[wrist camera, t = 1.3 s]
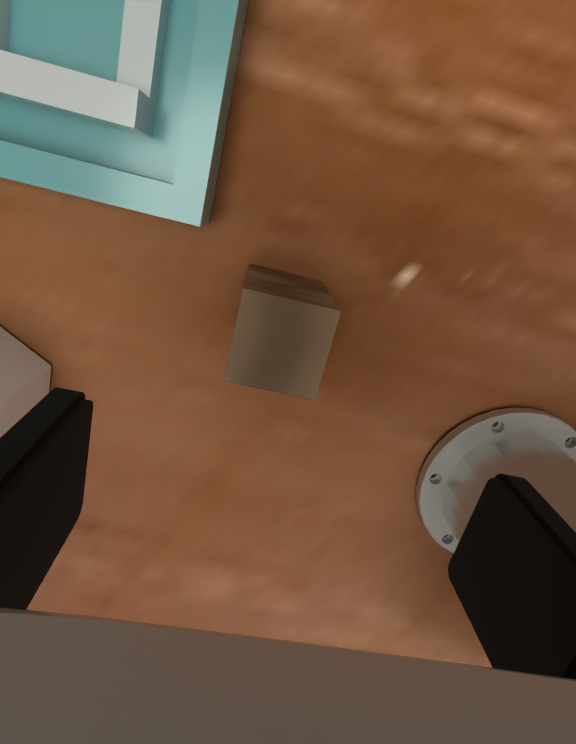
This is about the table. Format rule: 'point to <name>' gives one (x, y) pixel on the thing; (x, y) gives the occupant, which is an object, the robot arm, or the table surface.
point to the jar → (20, 380)
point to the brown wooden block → (282, 333)
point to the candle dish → (113, 152)
